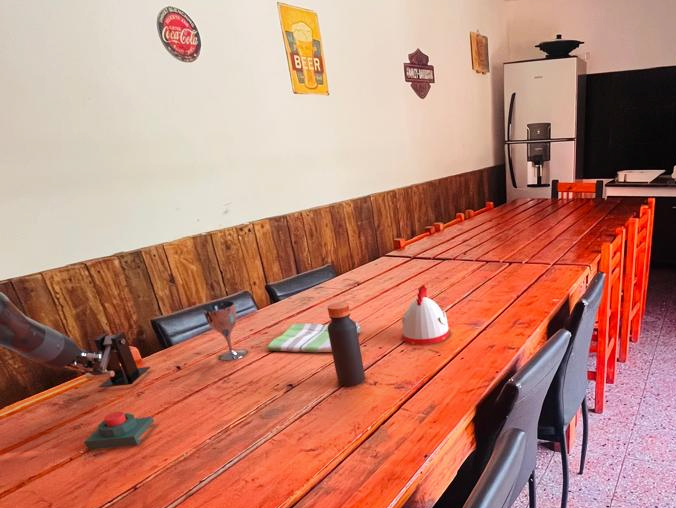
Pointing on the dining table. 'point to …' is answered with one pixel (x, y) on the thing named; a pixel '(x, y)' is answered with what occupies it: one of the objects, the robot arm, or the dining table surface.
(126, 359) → the black lever stand
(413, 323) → the kitchen timer
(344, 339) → the bottle
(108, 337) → the lever handle
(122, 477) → the dining table surface
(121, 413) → the button
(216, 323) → the silver goblet
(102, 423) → the button housing
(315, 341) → the dish towel
